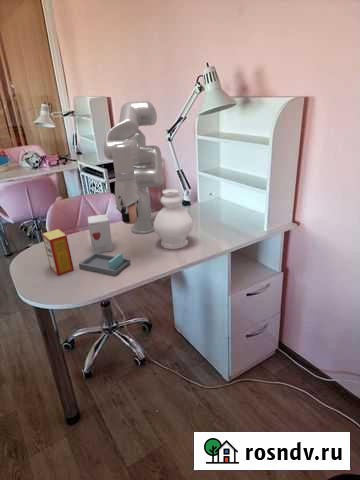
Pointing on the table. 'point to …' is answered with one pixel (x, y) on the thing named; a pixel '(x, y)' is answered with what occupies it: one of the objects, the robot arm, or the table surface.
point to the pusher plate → (116, 262)
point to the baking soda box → (58, 251)
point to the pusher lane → (102, 264)
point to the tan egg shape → (132, 213)
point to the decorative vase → (172, 221)
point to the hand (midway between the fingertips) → (130, 219)
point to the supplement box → (100, 233)
